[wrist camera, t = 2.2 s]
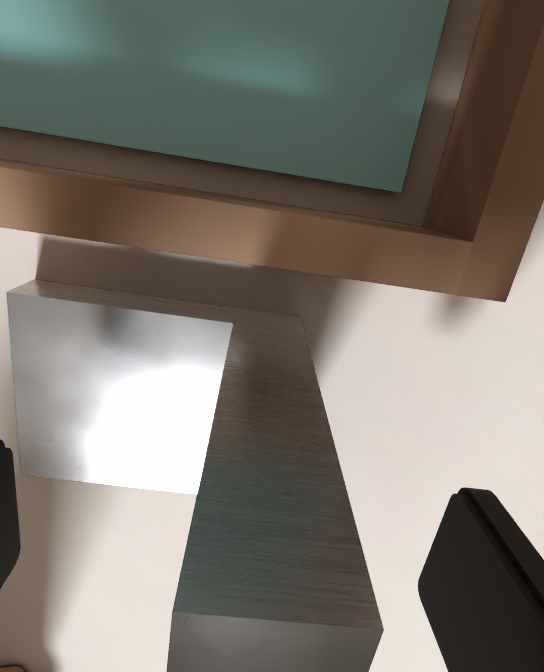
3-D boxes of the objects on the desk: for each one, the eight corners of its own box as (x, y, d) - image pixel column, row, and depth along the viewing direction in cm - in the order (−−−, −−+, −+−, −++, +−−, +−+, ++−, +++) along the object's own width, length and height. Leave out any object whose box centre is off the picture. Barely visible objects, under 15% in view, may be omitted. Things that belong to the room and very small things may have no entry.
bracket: (300, 316, 13) (383, 628, 4) (271, 471, 15) (282, 904, 6) (35, 278, 12) (-570, 547, 3) (44, 446, 14) (-312, 882, 5)
